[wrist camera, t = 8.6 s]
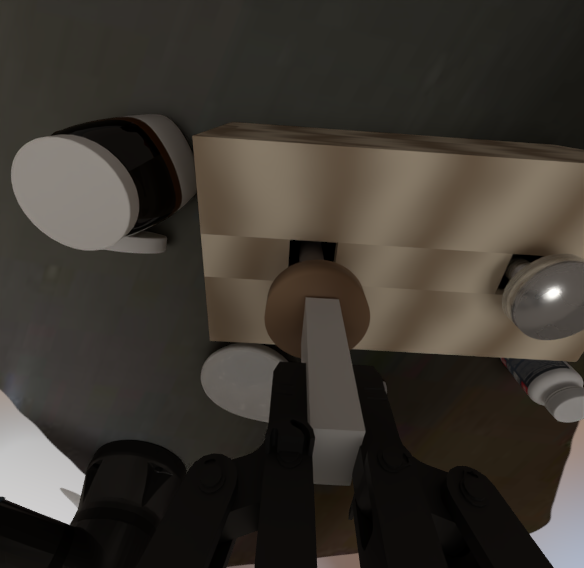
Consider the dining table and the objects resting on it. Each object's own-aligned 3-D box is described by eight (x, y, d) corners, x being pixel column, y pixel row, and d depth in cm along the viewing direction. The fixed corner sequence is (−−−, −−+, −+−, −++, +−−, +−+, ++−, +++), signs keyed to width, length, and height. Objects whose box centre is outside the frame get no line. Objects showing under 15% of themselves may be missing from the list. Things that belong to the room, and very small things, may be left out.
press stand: (236, 267, 34) (210, 340, 24) (232, 121, 27) (192, 135, 17) (493, 283, 35) (576, 361, 24) (554, 144, 28) (707, 172, 17)
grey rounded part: (424, 246, 31) (502, 337, 19) (439, 194, 28) (540, 262, 16) (475, 250, 31) (584, 342, 19) (495, 198, 28) (634, 268, 17)
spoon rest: (201, 384, 44) (186, 432, 38) (213, 318, 38) (197, 360, 32) (363, 416, 46) (373, 464, 40) (397, 358, 41) (415, 404, 35)
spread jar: (181, 100, 26) (111, 101, 16) (230, 225, 32) (199, 284, 22) (58, 142, 28) (-74, 166, 18) (124, 254, 34) (51, 320, 24)
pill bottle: (489, 354, 40) (535, 415, 32) (524, 326, 38) (582, 384, 30) (518, 370, 41) (568, 432, 34) (553, 344, 39) (616, 404, 31)
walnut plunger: (277, 249, 28) (263, 357, 16) (280, 192, 25) (265, 271, 14) (334, 253, 28) (360, 362, 16) (342, 196, 26) (379, 278, 14)
